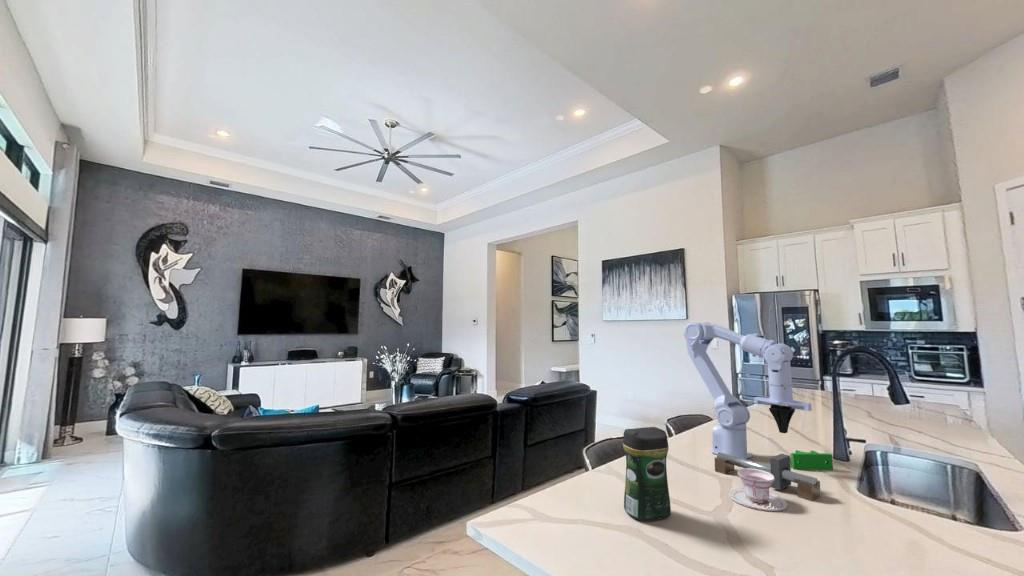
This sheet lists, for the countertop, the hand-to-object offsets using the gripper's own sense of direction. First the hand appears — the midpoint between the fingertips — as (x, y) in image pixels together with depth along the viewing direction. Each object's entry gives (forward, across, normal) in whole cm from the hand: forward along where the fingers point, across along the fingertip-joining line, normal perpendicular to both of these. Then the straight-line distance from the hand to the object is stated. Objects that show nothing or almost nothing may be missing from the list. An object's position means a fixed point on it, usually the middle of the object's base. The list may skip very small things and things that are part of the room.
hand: (783, 432), depth 123 cm
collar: (+11, +5, -16) cm, 20 cm away
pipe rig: (+10, +1, -16) cm, 19 cm away
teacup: (+11, +6, -29) cm, 32 cm away
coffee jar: (+10, -5, -57) cm, 58 cm away
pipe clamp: (+11, +3, +8) cm, 14 cm away
